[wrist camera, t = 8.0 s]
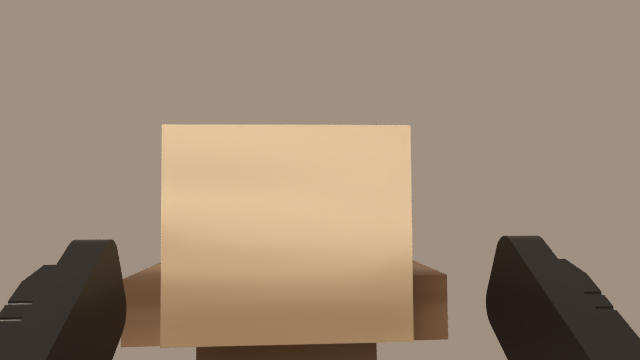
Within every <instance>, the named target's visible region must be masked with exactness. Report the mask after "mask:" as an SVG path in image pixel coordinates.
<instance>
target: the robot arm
mask: <svg viewBox="0 0 640 360" xmlns="http://www.w3.org/2000/svg"><path fill="white" fill-rule="evenodd" d="M486 309H487V315H488V319H489V321H490V324H491V326H492V328H493V330H494V332H495V334H496V336H497V338H498V340H499V343H500V345H501V346H502V348H503V350H504V353H505V355H506V357H507V359H508V360H640V338H639V337H638V336H637V335H636V333H635V332H634V331H633V330H632V329H631V327H630V326H629V325H628V324H627V322H626V321H625V320H624V319H623V318H622V316H621V315H620V314H619V313H618V312H617V310H614V309H613V306H612V304H611V303H610V302H609V300H608V299H607V298H606V297H605V295H601V291H600V289H599V288H598V287H597V286H596V285H595V283H594V282H593V281H592V280H591V278H590V277H589V276H588V275H587V274H586V273H585V272H583V271H582V270H580V269H579V268H577V267H576V266H575V265H573V264H572V263H570V262H569V261H567V260H566V259H558V258H557V257H556V256H555V254H554V253H553V252H552V250H551V249H550V248H549V247H548V245H547V244H546V243H545V242H544V240H543V239H542V238H541V237H539V236H503V237H501V238H500V240H499V241H498V244H497V248H496V253H495V257H494V262H493V266H492V271H491V276H490V280H489V284H488V289H487V294H486ZM125 321H126V296H125V290H124V285H123V279H122V273H121V268H120V262H119V256H118V250H117V246H116V244H115V242H114V241H113V240H73V241H72V242H71V243H70V244H69V246H68V247H67V249H66V251H65V252H64V254H63V255H62V257H61V259H60V260H59V261H58V263H57V265H44V266H42V267H41V268H40V269H38V270H37V271H36V272H34V273H33V274H32V275H30V276H29V277H28V278H26V279H25V280H24V281H22V282H21V284H20V285H19V287H18V288H17V289H16V291H15V292H14V294H13V295H12V296H11V298H10V299H9V301H8V305H5V306H4V308H3V309H2V311H1V312H0V360H112V359H113V356H114V353H115V351H116V348H117V346H118V343H119V340H120V338H121V335H122V333H123V330H124V326H125Z"/></svg>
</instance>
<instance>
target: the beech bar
mask: <svg viewBox="0 0 640 360" xmlns="http://www.w3.org/2000/svg"><path fill="white" fill-rule="evenodd" d="M161 193H162V194H161V195H162V196H161V204H162V205H161V322H160V347H161V348H170V347H213V346H255V345H298V344H340V343H382V342H413V341H414V331H413V266H412V204H411V202H412V201H411V137H410V125H170V124H169V125H168V124H165V125H164V124H163V125H162V192H161Z"/></svg>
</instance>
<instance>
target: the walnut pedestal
mask: <svg viewBox="0 0 640 360" xmlns="http://www.w3.org/2000/svg"><path fill="white" fill-rule="evenodd" d="M412 266H413V331H414V340H437V339H438V340H440V339H448V315H447V275H446V274H444V273H441V272H439V271H437V270H434V269H432V268H429V267H427V266H425V265H422V264H420V263H418V262H415V261H413V260H412ZM123 285H124V290H125V296H126V321H125V326H124V330H123V333H122V335H121V347H138V346H139V347H141V346H142V347H143V346H160V322H161V263H158V264H156V265H154V266H152V267H149V268H147V269H145V270H143V271H140V272H138V273H136V274H134V275H131V276H129V277H127V278H125V279H123ZM376 351H377V350H376V343H340V344H298V345H255V346H213V347H196V360H377V353H376Z"/></svg>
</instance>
